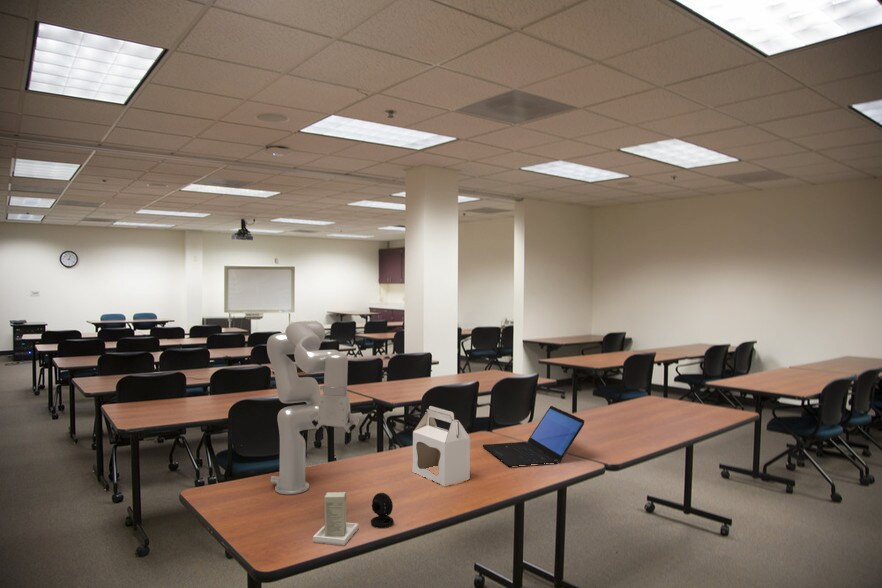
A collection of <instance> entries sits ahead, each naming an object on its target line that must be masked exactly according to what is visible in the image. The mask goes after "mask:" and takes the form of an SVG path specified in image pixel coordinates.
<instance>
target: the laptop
mask: <svg viewBox="0 0 882 588" xmlns="http://www.w3.org/2000/svg"><path fill="white" fill-rule="evenodd" d="M584 425H585V420H584V419H582V418H580V417H578V416H576V415H574V414H572V413H569V412H567V411H565V410H562V409H559V408H557V407H555V406H553V405H550V406H549V408H547V410H546V412H545V414H544V415H543V417H542V419H541V420H540V422H539V423H538V425H537V426H536V427H535V429H534V430H533V432H532V434H531V435H530V436H529V438H528V440H527V441H516V442H514V441H513V442H502V443H488V444H485V443H484V444H482V448H484V449H485V448H486V449H485V450H487V451H488V452H489V451H490V452H489V453H491V454H492V455H493V454H494V455H495V456H494V455H493V456H494V457H496V456H497V457H498V458H499V459H498V458H497V457H496V458H497V459H498V460H500V459H501V460H502V461H503V462H504V463H503V462H502V461H501V460H500V461H501V462H502V463H503V464H505V466H507V465H508V466H519V465H531V464H544V463H545V464H546V463H556V464H558V463H560V462H561V461H562V460H563V458H564V456H565V455H566V453H567V452H568V450H569V448H570V447H571V445H572V444H573V442H574V441H575V439H576V438H577V437H578V434H579V433H580V431H581V430H582V429H583V427H584ZM557 462H558V463H557ZM508 466H507V467H508Z"/></svg>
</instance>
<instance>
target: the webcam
mask: <svg viewBox="0 0 882 588" xmlns="http://www.w3.org/2000/svg"><path fill="white" fill-rule="evenodd" d="M371 507H372V508H371V510H372V511H373V513H374V514H376V515H377V516H375V517H373V518H371V519H370V524H371V526H372V527H374V528H376V527H378V528H377V529H385V527H386V528H390V527H392V526H393V525H394V522H395V521H394V518H393V517H391V516H390V515H391V514H392V512H393V507H394V506H393V501H392V499H391V496H389V494H387V493H384V492H378V493H376V494H375V495H374V496H373V497H372V504H371ZM385 521H387V522H385ZM392 524H393V525H392ZM389 526H390V527H389Z"/></svg>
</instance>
